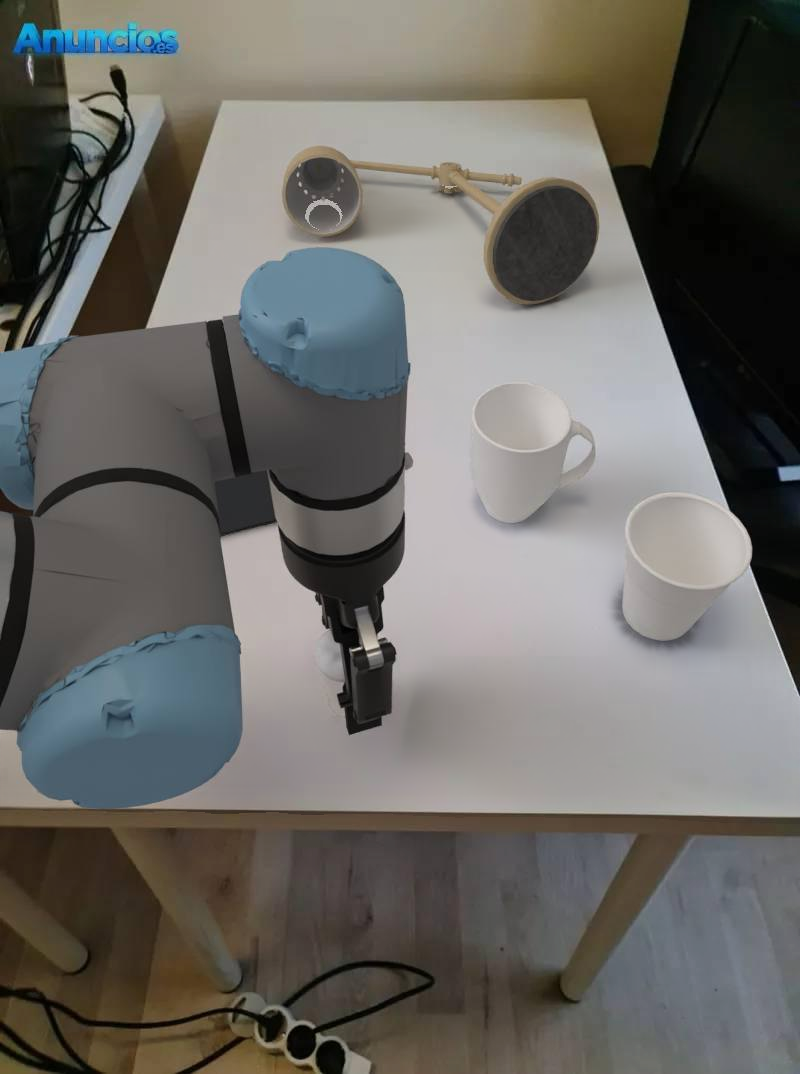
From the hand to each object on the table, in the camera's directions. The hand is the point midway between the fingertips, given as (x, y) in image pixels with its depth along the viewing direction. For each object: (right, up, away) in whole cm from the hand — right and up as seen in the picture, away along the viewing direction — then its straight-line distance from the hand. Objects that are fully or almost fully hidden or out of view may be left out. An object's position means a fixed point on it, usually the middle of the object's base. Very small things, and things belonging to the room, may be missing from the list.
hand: (355, 699), depth 67 cm
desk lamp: (+6, +54, +47) cm, 72 cm away
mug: (+16, +16, +17) cm, 28 cm away
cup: (+27, +6, +8) cm, 29 cm away
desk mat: (-10, +20, +19) cm, 29 cm away
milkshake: (0, 0, 0) cm, 0 cm away
